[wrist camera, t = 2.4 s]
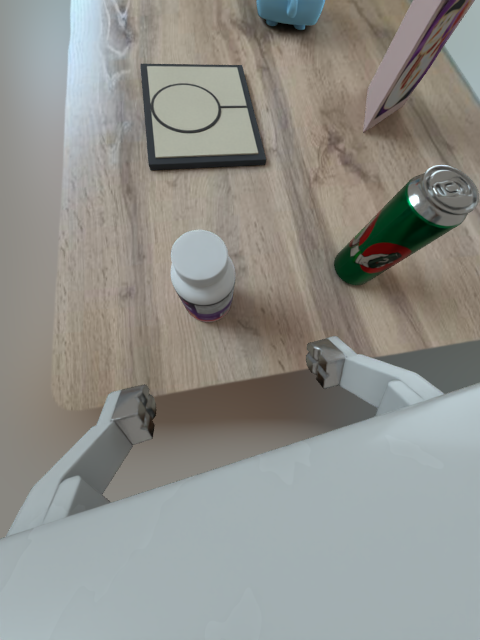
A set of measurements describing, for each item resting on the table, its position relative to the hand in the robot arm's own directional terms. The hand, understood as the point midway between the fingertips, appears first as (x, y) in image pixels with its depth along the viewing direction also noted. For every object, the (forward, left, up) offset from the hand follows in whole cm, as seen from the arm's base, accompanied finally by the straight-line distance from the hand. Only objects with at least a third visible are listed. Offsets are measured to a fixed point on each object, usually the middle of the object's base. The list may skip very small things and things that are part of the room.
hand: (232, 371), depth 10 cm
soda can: (+6, +19, -12) cm, 24 cm away
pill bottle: (-6, +5, -12) cm, 15 cm away
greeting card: (-4, +49, -12) cm, 51 cm away
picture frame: (-24, +29, -12) cm, 40 cm away
